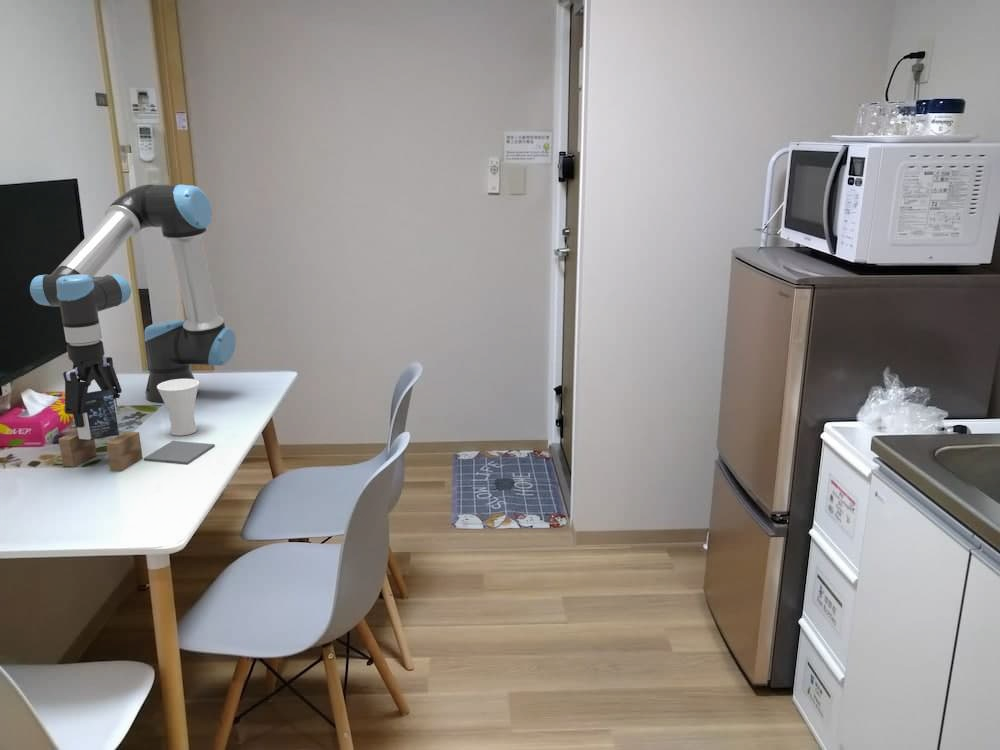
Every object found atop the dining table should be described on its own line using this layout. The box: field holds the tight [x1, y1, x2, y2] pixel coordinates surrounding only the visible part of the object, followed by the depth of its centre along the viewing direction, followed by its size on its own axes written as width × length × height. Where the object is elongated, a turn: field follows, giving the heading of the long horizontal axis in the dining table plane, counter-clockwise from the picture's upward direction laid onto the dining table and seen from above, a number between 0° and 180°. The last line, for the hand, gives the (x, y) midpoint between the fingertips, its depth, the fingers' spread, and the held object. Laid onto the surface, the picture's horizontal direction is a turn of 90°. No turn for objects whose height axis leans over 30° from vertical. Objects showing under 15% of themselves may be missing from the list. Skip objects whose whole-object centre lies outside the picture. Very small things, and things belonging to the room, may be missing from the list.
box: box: [78, 389, 120, 442], centre depth 185 cm, size 8×6×11 cm
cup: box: [157, 378, 200, 436], centre depth 206 cm, size 10×10×14 cm
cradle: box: [57, 429, 144, 472], centre depth 187 cm, size 8×16×7 cm, turn 79°
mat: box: [142, 440, 215, 465], centre depth 193 cm, size 12×12×1 cm
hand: (99, 431), depth 186 cm, fingers closed on box, 9 cm apart
